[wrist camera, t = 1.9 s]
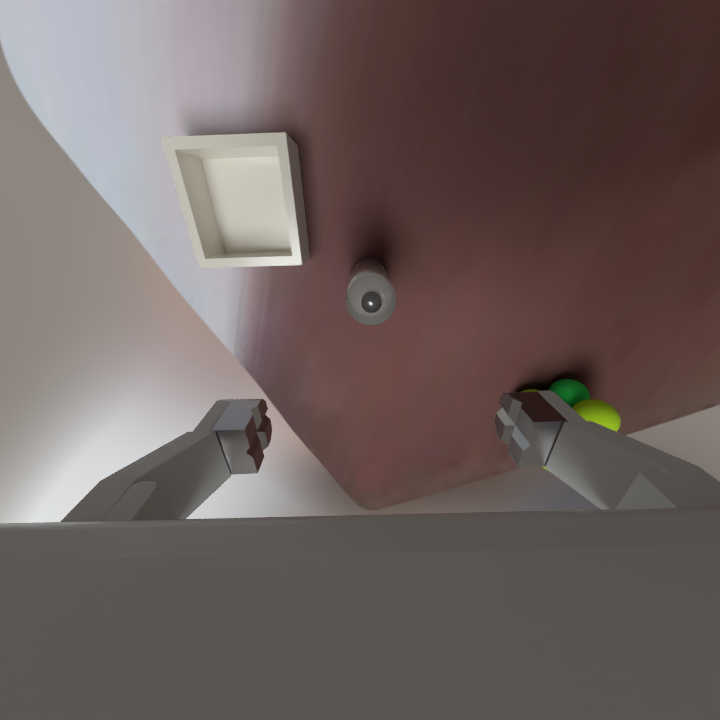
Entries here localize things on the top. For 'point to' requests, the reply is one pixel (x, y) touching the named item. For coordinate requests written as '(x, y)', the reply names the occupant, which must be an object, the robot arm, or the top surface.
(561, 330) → the top surface
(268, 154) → the cream square tray
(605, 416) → the molecule model
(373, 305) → the cylinder
